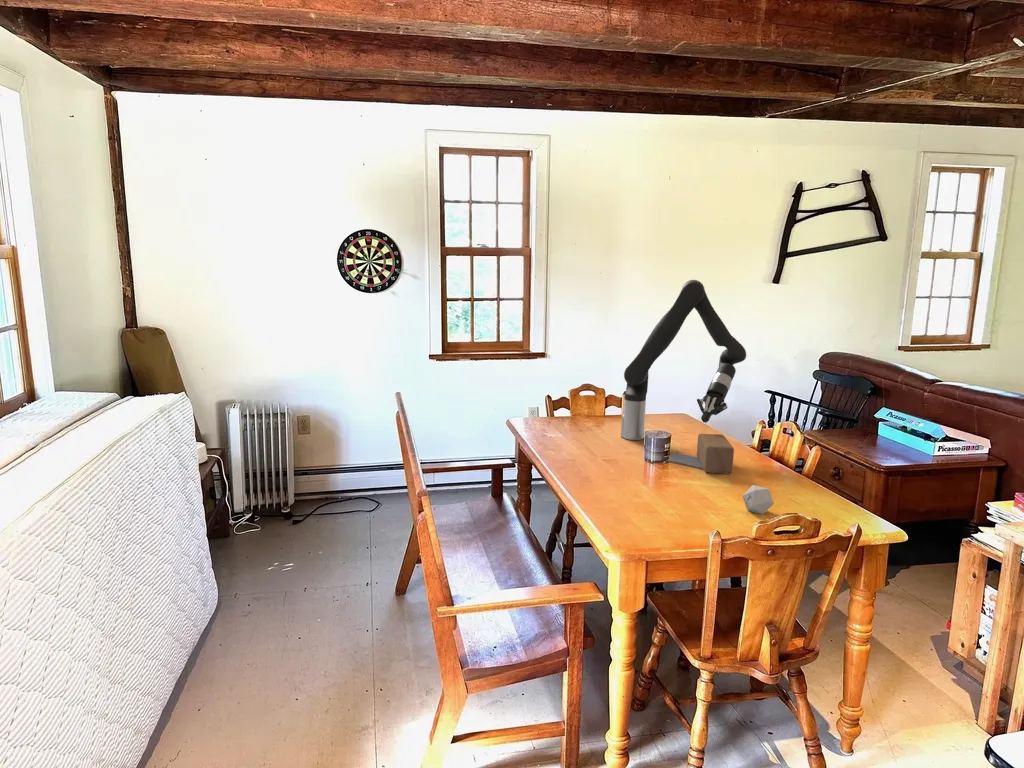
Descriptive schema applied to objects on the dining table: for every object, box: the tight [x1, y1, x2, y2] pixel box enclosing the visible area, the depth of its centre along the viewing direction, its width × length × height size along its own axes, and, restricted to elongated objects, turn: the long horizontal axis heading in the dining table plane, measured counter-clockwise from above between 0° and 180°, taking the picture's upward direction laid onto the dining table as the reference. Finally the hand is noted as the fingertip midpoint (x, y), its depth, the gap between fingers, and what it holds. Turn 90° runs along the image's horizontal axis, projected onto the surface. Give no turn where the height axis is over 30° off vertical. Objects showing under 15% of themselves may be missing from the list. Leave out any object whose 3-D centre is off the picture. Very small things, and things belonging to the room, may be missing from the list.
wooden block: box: [696, 433, 735, 474], centre depth 257 cm, size 10×10×20 cm
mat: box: [667, 452, 705, 471], centre depth 264 cm, size 20×12×1 cm, turn 49°
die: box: [741, 484, 774, 515], centre depth 212 cm, size 8×9×10 cm
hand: (704, 421), depth 267 cm, fingers closed
